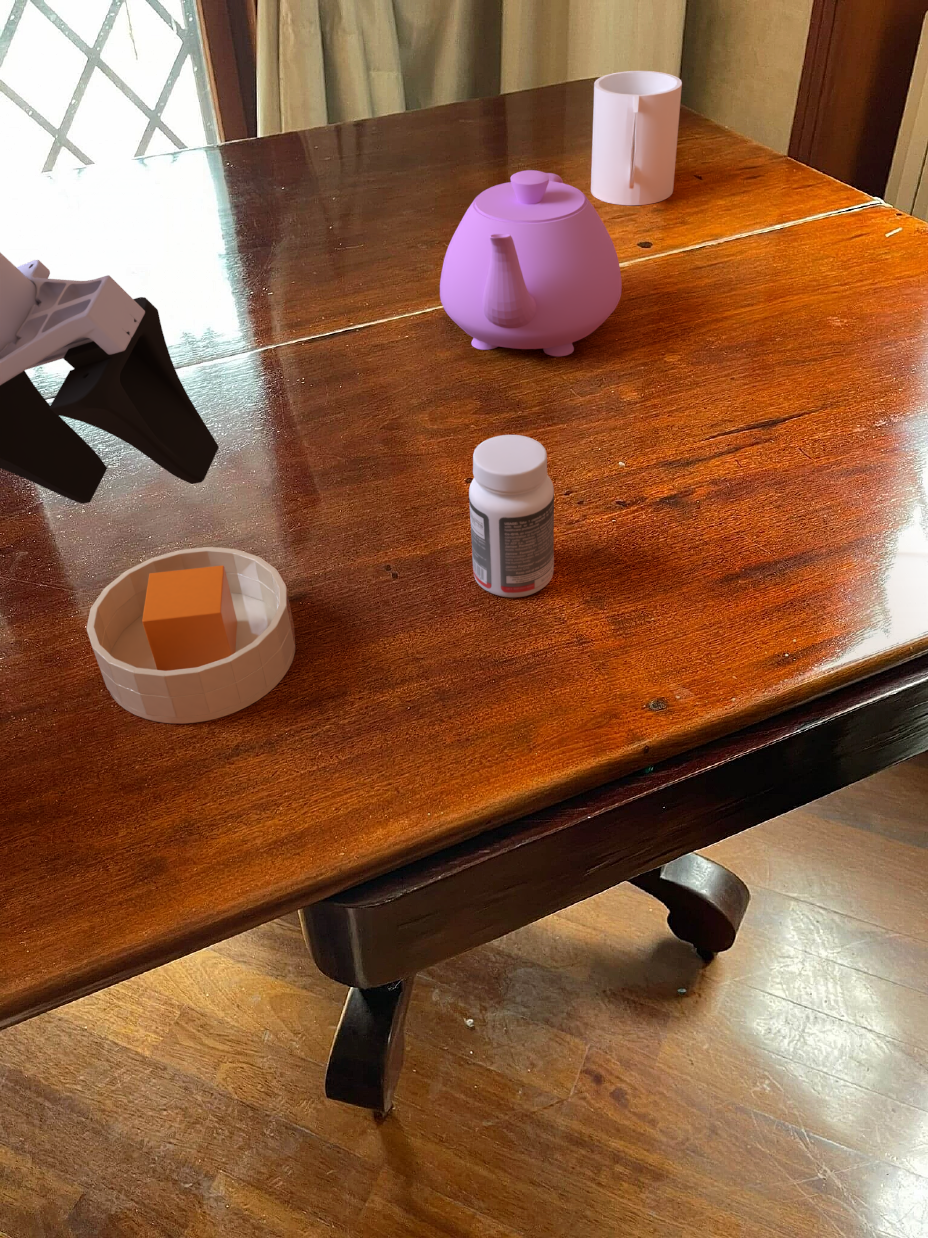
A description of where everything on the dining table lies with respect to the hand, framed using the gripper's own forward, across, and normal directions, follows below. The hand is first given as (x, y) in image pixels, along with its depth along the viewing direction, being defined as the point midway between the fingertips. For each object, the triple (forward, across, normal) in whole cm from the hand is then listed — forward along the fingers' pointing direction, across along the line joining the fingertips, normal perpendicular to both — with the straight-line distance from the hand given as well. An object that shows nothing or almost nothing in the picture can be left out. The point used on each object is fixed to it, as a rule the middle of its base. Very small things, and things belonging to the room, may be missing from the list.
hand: (147, 476), depth 49 cm
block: (+11, +6, +2) cm, 13 cm away
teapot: (+28, +5, -36) cm, 46 cm away
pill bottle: (+21, -5, -8) cm, 23 cm away
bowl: (+12, +7, +2) cm, 14 cm away
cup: (+38, +7, -65) cm, 76 cm away
